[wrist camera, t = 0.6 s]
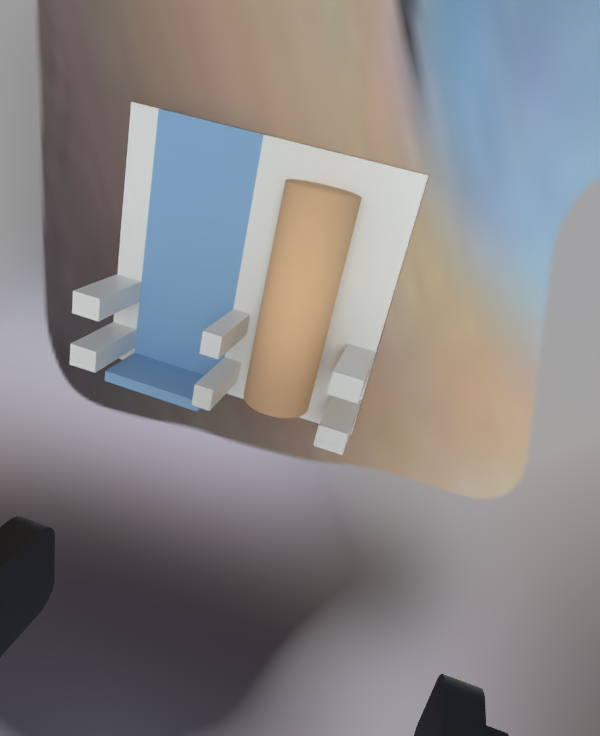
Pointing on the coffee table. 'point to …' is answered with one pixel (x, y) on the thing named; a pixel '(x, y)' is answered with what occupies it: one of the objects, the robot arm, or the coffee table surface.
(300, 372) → the tan rounded cylinder
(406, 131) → the coffee table surface
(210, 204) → the cylinder holder rack
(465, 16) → the coffee table surface
